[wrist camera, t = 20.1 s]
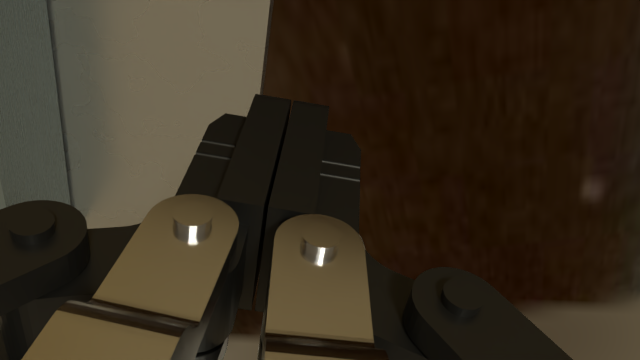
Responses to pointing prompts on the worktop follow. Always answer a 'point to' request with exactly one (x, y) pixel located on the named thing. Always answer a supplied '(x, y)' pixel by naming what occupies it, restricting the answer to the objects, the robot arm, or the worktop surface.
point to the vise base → (148, 92)
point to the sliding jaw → (29, 108)
